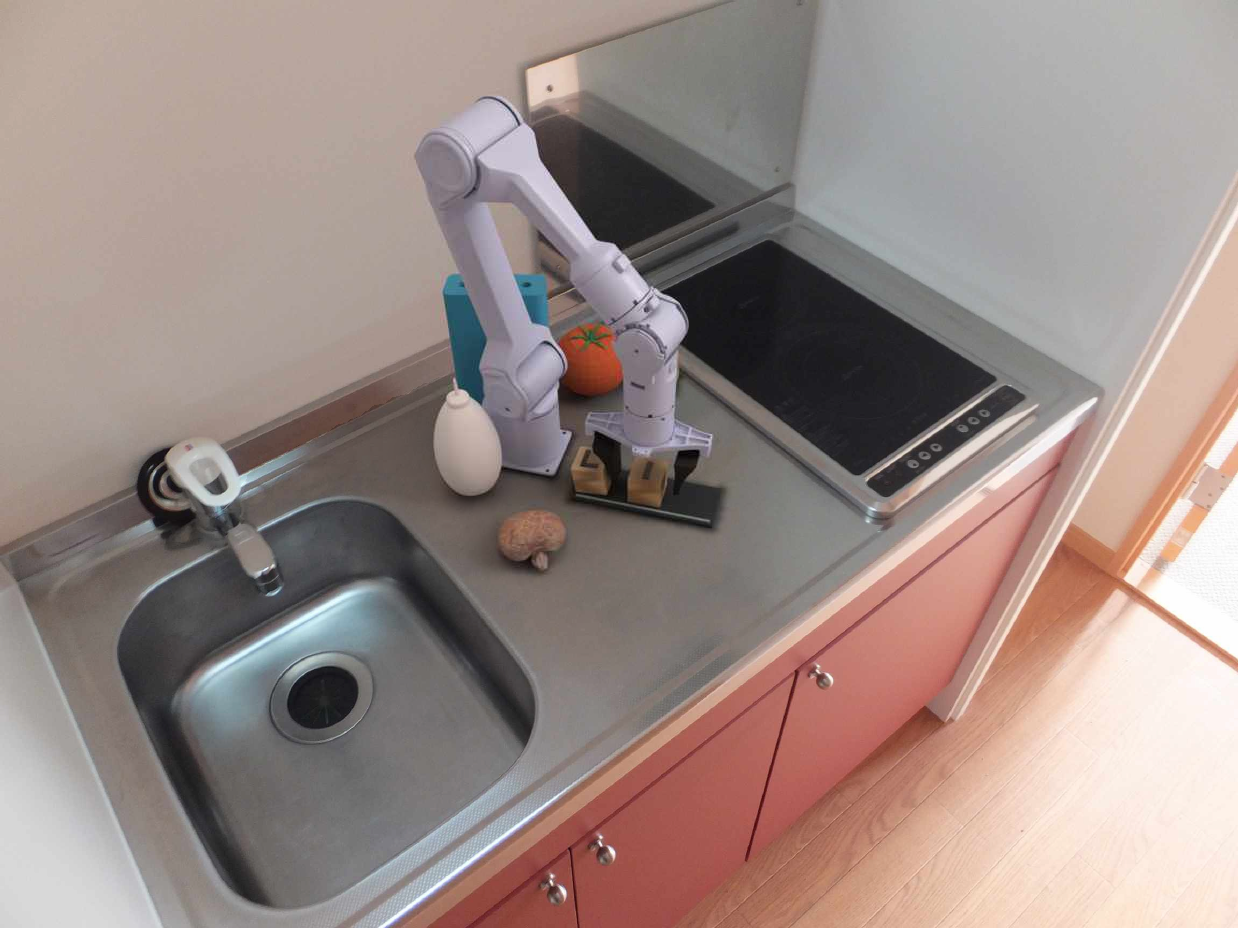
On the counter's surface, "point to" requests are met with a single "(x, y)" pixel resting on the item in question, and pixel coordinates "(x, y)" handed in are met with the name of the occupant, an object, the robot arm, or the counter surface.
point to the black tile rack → (686, 507)
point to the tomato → (590, 360)
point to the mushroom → (531, 536)
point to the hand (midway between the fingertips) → (646, 483)
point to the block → (469, 331)
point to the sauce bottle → (466, 445)
